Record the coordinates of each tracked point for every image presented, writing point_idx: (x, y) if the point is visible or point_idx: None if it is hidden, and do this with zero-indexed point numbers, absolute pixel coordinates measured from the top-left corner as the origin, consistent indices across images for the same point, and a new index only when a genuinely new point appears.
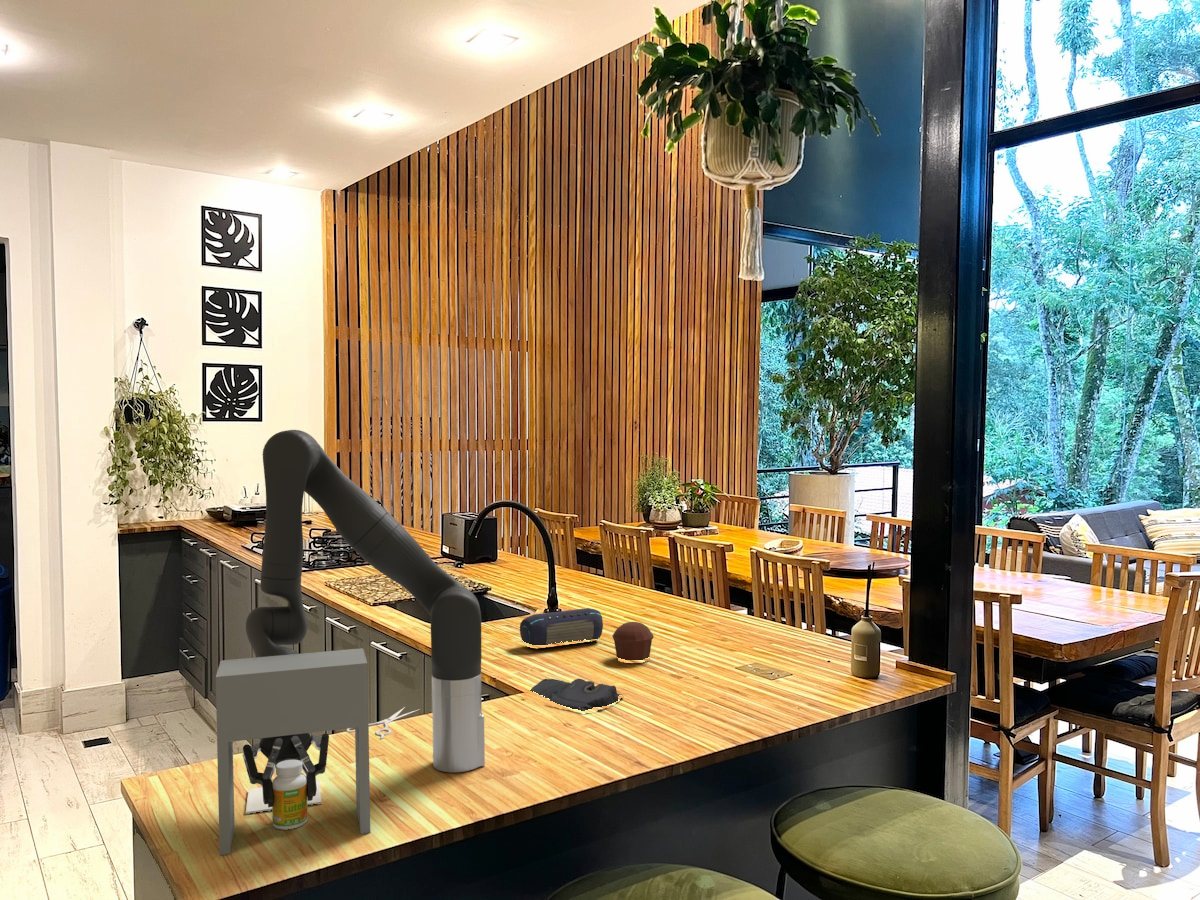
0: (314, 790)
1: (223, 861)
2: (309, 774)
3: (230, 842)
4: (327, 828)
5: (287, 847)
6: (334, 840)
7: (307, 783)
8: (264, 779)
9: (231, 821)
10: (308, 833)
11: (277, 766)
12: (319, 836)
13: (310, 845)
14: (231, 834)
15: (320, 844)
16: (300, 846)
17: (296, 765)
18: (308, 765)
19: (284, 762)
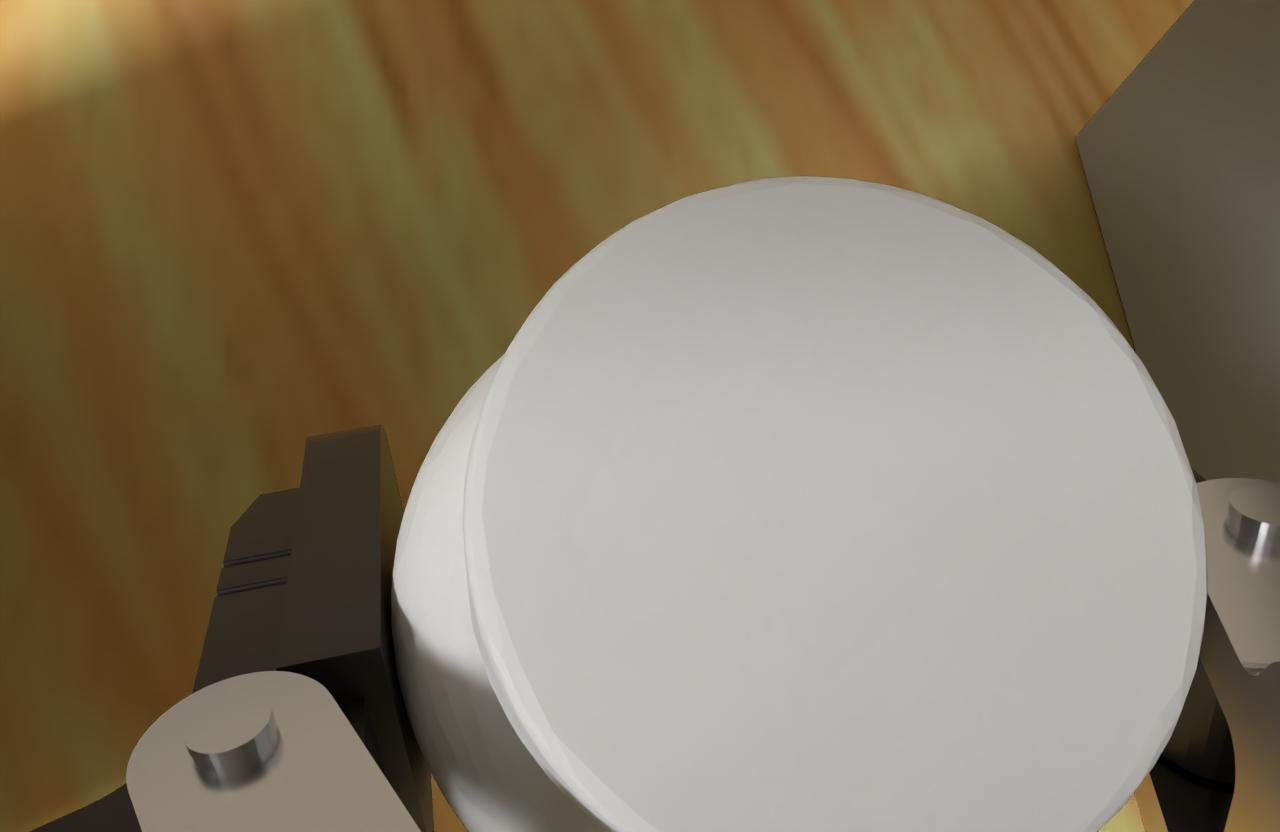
0: (275, 516)
1: (1086, 34)
2: (313, 647)
3: (1130, 125)
4: (228, 431)
5: (604, 129)
6: (168, 149)
7: (378, 519)
8: (1250, 482)
9: (1269, 229)
10: (428, 362)
11: (1133, 374)
12: (314, 268)
13: (397, 112)
14: (1178, 251)
15: (304, 107)
16: (488, 117)
17: (603, 322)
18: (299, 814)
19: (1014, 661)
